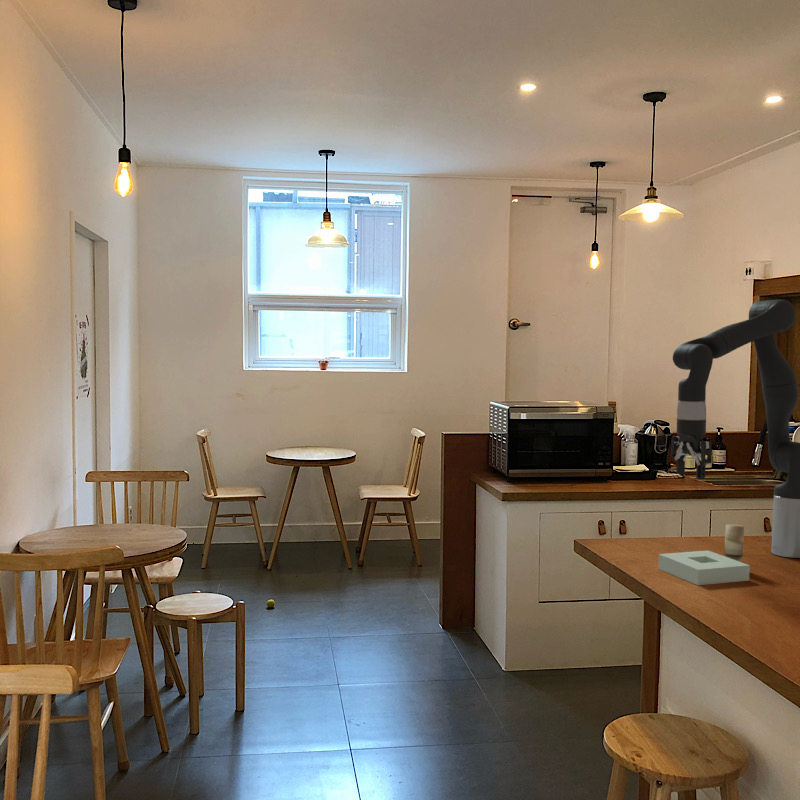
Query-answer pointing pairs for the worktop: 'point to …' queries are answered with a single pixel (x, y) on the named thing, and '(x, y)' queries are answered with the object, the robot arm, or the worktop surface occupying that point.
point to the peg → (734, 541)
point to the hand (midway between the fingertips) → (690, 476)
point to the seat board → (704, 567)
